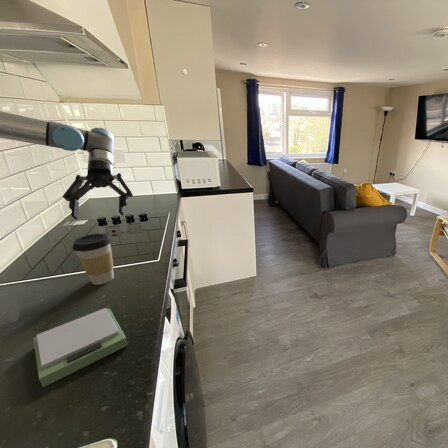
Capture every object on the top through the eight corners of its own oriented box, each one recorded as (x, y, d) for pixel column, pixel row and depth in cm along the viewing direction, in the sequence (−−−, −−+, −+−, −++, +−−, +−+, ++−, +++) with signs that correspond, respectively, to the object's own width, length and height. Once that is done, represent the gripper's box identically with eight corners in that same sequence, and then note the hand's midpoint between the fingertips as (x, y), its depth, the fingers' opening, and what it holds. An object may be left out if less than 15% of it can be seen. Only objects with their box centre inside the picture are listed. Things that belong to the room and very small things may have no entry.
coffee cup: (116, 268, 94) (106, 230, 89) (123, 279, 88) (112, 239, 82) (82, 279, 88) (69, 238, 82) (87, 291, 81) (73, 248, 76)
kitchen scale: (36, 345, 62) (31, 335, 61) (111, 315, 72) (108, 305, 71) (42, 387, 52) (37, 376, 51) (128, 345, 62) (125, 334, 61)
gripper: (141, 169, 105) (142, 216, 98) (65, 172, 97) (59, 224, 89) (136, 157, 99) (136, 207, 91) (53, 159, 90) (46, 214, 83)
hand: (98, 215), depth 90 cm, fingers open, 13 cm apart
